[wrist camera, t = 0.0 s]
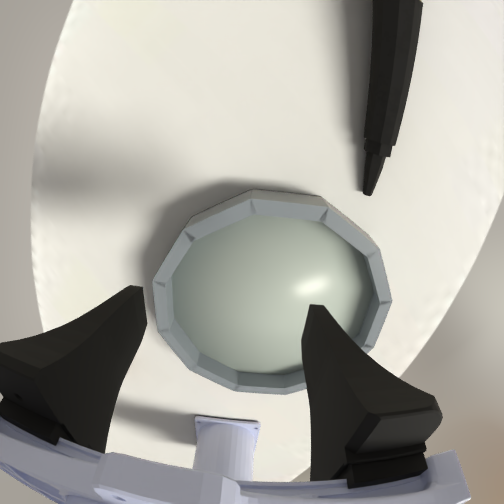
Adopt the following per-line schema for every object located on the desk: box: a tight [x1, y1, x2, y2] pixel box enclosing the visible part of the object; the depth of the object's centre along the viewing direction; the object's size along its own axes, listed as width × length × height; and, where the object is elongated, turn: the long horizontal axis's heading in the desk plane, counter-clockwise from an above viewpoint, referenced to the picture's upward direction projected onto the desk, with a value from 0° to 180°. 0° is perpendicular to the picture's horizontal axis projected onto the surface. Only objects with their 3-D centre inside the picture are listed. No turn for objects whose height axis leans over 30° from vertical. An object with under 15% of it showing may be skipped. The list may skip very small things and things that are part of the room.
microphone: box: [363, 0, 423, 196], centre depth 14 cm, size 6×6×20 cm
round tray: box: [152, 189, 392, 395], centre depth 23 cm, size 18×18×2 cm
